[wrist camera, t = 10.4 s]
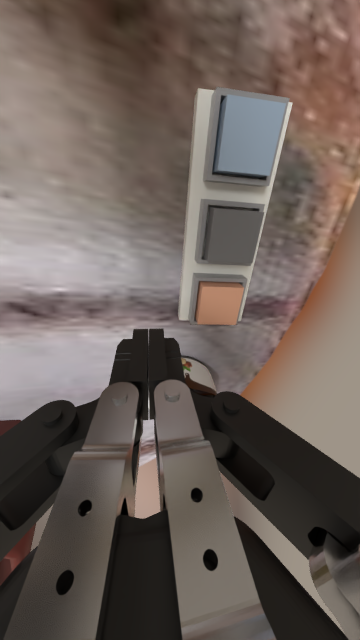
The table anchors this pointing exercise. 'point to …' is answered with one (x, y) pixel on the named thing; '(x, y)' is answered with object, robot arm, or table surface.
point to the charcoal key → (232, 235)
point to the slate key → (247, 136)
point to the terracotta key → (218, 302)
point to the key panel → (218, 199)
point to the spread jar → (197, 378)
